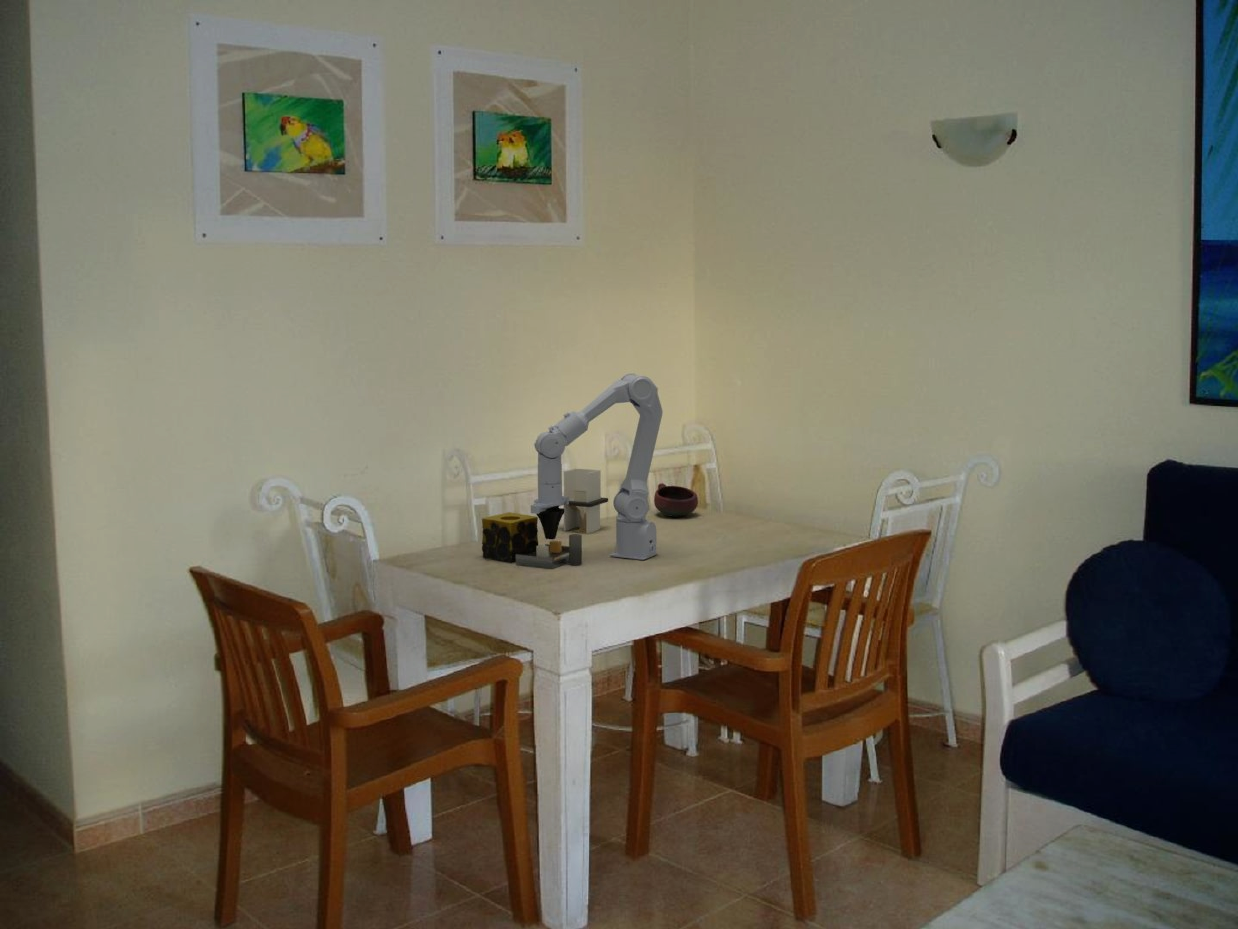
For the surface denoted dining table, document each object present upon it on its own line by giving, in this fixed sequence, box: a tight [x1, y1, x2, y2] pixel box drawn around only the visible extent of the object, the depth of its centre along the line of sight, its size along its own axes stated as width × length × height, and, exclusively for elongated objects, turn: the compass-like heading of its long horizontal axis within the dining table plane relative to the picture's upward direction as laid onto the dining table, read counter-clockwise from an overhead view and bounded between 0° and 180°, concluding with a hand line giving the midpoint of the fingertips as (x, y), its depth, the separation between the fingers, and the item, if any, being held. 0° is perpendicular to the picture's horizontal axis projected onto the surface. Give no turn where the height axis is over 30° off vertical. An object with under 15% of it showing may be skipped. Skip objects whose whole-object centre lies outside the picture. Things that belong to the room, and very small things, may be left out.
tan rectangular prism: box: [549, 539, 563, 553], centre depth 309 cm, size 2×2×2 cm
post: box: [568, 533, 583, 567], centre depth 303 cm, size 3×3×7 cm
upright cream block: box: [536, 544, 549, 557], centre depth 304 cm, size 2×2×2 cm
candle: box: [481, 511, 539, 564], centre depth 311 cm, size 10×10×10 cm
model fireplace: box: [563, 467, 609, 535], centre depth 345 cm, size 25×24×16 cm
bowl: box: [653, 483, 699, 517], centre depth 367 cm, size 16×13×8 cm
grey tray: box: [515, 543, 569, 570], centre depth 307 cm, size 10×14×2 cm
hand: (550, 538), depth 307 cm, fingers closed
